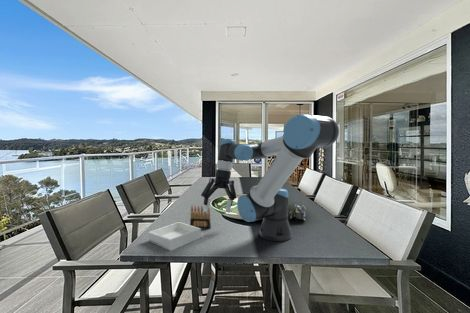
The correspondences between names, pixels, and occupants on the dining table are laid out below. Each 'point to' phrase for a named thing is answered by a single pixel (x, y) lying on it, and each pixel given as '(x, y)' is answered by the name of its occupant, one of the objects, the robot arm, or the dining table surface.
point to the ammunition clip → (200, 218)
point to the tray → (174, 235)
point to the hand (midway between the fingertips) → (217, 211)
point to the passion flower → (298, 211)
